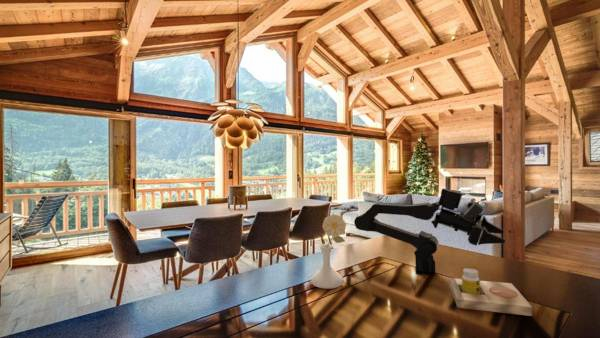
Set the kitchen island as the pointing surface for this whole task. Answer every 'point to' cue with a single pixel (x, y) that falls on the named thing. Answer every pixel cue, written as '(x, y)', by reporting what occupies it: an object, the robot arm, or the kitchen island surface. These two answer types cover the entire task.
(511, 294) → the coaster
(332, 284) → the flower in vase
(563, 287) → the kitchen island surface
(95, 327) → the kitchen island surface
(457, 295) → the pocket board
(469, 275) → the supplement bottle
